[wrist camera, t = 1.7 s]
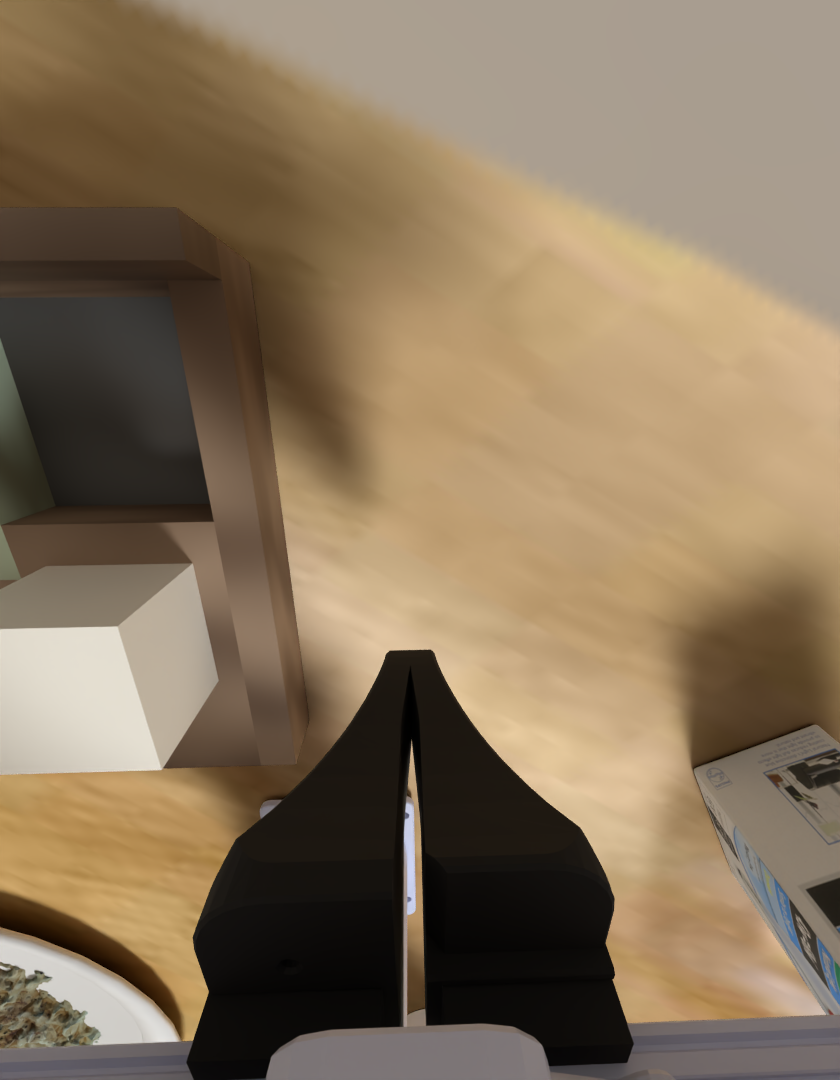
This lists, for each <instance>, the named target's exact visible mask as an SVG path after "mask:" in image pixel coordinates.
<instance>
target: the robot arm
mask: <svg viewBox="0 0 840 1080" xmlns="http://www.w3.org/2000/svg"><path fill="white" fill-rule="evenodd" d="M411 740H412V746H413V755H414V765H415V774H416V783H417V793H418V802H419V811H420V824H421V848H422V888H423V929H424V971H425V1014H426V1026H413V1027H407V915H409V914H412V913H414V912H415V910H416V895H415V843H414V802H413V800H412V799H411V798H410V797H408V796H407V787H408V775H409V764H410V752H411ZM260 817H261V819H260V820H259V821H258V822H257V823H255V824H254V825H253V826H252V827H251V828H249V829H248V830H247V831H246V832H245V833H243V834H242V835H241V836H240V837H238V838H237V839H236V840H235V842H234V844H233V846H232V847H231V849H230V851H229V853H228V855H227V857H226V858H225V860H224V862H223V864H222V866H221V868H220V870H219V872H218V874H217V876H216V878H215V880H214V882H213V885H212V887H211V889H210V892H209V895H208V897H207V900H206V903H205V905H204V908H203V911H202V913H201V916H200V919H199V921H198V924H197V927H196V930H195V932H194V935H193V943H194V950H195V953H196V956H197V959H198V962H199V965H200V967H201V970H202V973H203V976H204V979H205V982H206V985H207V987H208V990H209V994H208V997H207V1000H206V1003H205V1006H204V1009H203V1012H202V1015H201V1018H200V1021H199V1024H198V1028H197V1031H196V1034H195V1037H194V1040H193V1041H179V1042H155V1043H131V1044H106V1045H82V1046H57V1047H33V1048H8V1049H0V1080H840V1015H815V1016H791V1017H766V1018H742V1019H717V1020H693V1021H669V1022H644V1023H627V1022H626V1019H625V1016H624V1013H623V1010H622V1007H621V1004H620V1001H619V998H618V995H617V992H616V989H615V986H614V983H613V980H612V979H614V976H615V972H614V967H613V964H612V961H611V958H610V955H609V952H608V949H607V947H606V944H605V943H606V939H607V935H608V931H609V927H610V924H611V920H612V916H613V912H614V896H613V893H612V891H611V887H610V884H609V882H608V879H607V877H606V874H605V872H604V870H603V868H602V866H601V864H600V862H599V860H598V858H597V856H596V854H595V853H594V851H593V849H592V847H591V845H590V843H589V842H588V840H587V838H586V836H585V835H584V833H583V831H582V830H581V828H580V827H578V826H577V825H576V824H575V823H573V822H572V821H571V820H569V819H568V818H567V817H565V816H564V815H563V814H562V813H560V812H559V811H558V810H556V809H555V808H554V807H552V806H551V805H550V804H549V803H547V802H546V801H545V800H544V799H543V798H542V797H540V796H539V795H538V794H537V793H536V792H535V791H534V790H533V789H531V788H530V787H529V786H528V785H527V784H526V783H525V782H524V781H523V780H522V779H521V778H520V777H519V776H518V775H517V774H516V773H515V772H514V771H513V770H512V769H511V768H510V767H509V766H508V765H507V764H506V763H505V762H504V761H503V760H502V759H501V758H500V757H499V755H498V754H497V753H496V752H495V751H494V750H493V749H492V748H491V746H490V745H489V744H488V743H487V742H486V740H485V739H484V738H483V737H482V735H481V734H480V733H479V732H478V730H477V729H476V728H475V726H474V725H473V724H472V722H471V721H470V719H469V718H468V716H467V715H466V713H465V712H464V711H463V709H462V707H461V706H460V704H459V703H458V701H457V700H456V698H455V696H454V694H453V693H452V691H451V689H450V687H449V686H448V684H447V682H446V680H445V678H444V676H443V674H442V672H441V670H440V668H439V665H438V663H437V660H436V657H435V653H434V652H433V651H432V650H399V651H389V652H388V653H387V654H386V656H385V660H384V662H383V665H382V667H381V670H380V672H379V674H378V676H377V678H376V680H375V682H374V684H373V686H372V688H371V690H370V692H369V693H368V695H367V697H366V699H365V701H364V702H363V704H362V705H361V707H360V709H359V710H358V712H357V713H356V715H355V716H354V718H353V720H352V721H351V723H350V724H349V726H348V727H347V728H346V730H345V731H344V733H343V734H342V735H341V737H340V738H339V739H338V740H337V742H336V743H335V744H334V746H333V747H332V748H331V749H330V751H329V752H328V753H327V754H326V755H325V756H324V758H323V759H322V760H321V761H320V762H319V763H318V765H317V766H316V767H315V768H314V769H313V770H312V771H311V772H310V773H309V774H308V775H307V776H306V778H305V779H304V780H302V781H301V782H300V783H299V784H298V785H297V786H296V787H295V788H294V789H293V790H292V791H291V792H290V793H289V794H288V795H287V796H286V797H285V798H284V799H283V800H267V801H265V802H263V804H262V805H261V808H260Z"/></svg>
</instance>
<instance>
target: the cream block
mask: <svg viewBox="0 0 840 1080" xmlns="http://www.w3.org/2000/svg"><path fill="white" fill-rule="evenodd" d="M218 681H219V680H218V675H217V671H216V666H215V662H214V657H213V653H212V648H211V644H210V639H209V635H208V630H207V626H206V621H205V617H204V612H203V607H202V603H201V598H200V594H199V589H198V585H197V580H196V576H195V571H194V567H193V563H186V564H131V565H76V566H45V567H43V568H41V569H39V570H37V571H35V572H33V573H31V574H29V575H27V576H25V577H24V578H22V579H20V580H18V581H16V582H14V583H12V584H10V585H8V586H6V587H4V588H2V589H0V775H6V774H41V773H75V772H110V771H145V770H162V769H163V767H164V766H165V764H166V763H167V761H168V759H169V758H170V756H171V755H172V753H173V752H174V750H175V748H176V747H177V745H178V744H179V742H180V741H181V739H182V737H183V736H184V734H185V733H186V731H187V730H188V728H189V726H190V725H191V723H192V722H193V720H194V719H195V717H196V715H197V714H198V712H199V711H200V709H201V708H202V706H203V704H204V703H205V701H206V700H207V698H208V697H209V695H210V693H211V692H212V690H213V689H214V687H215V686H216V684H217V682H218Z"/></svg>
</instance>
